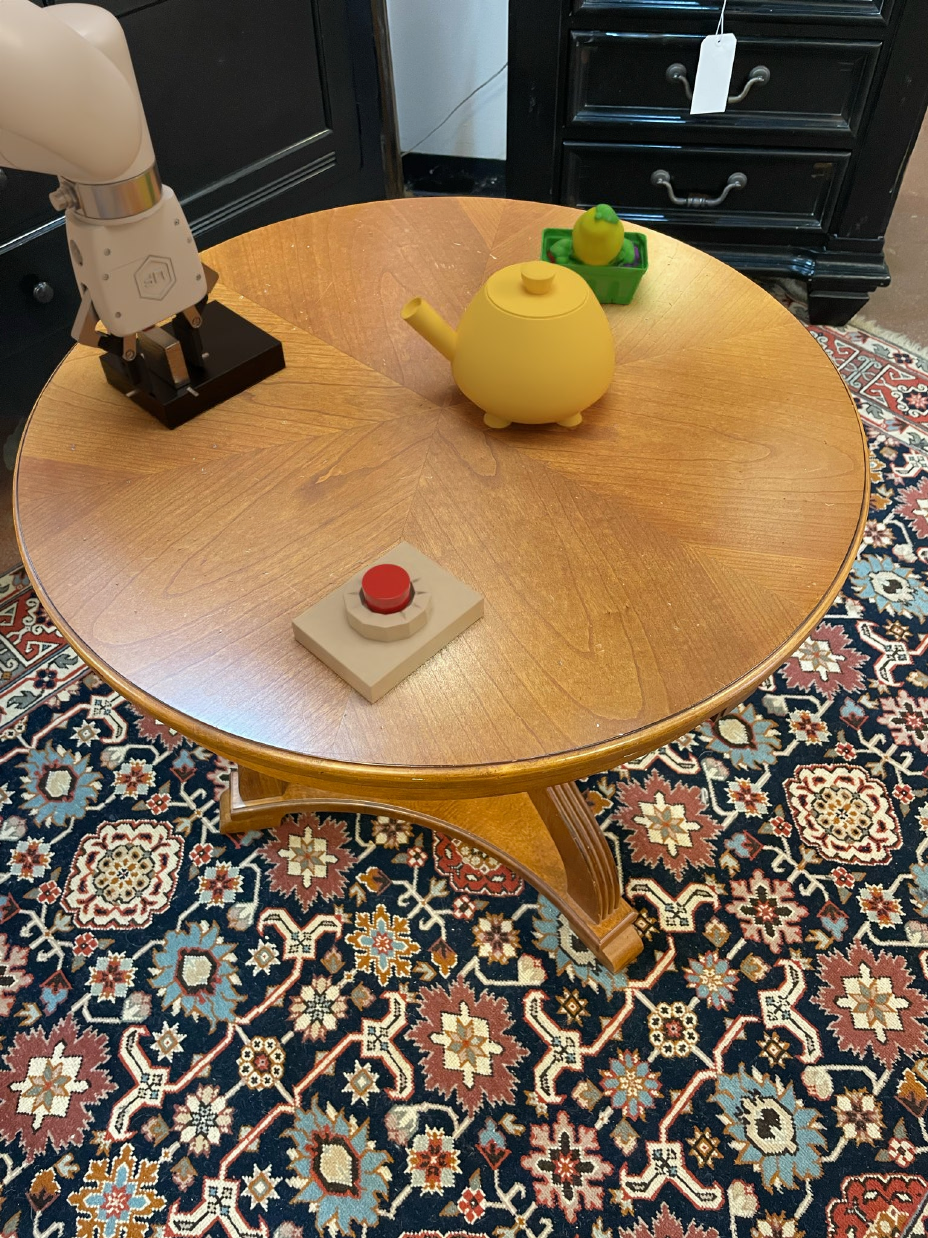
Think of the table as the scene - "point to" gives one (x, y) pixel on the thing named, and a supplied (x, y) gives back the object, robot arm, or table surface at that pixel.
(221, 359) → the panel
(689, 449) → the table surface
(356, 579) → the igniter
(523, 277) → the teapot
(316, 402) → the table surface
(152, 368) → the hob knob
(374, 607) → the button
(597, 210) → the fruit basket
